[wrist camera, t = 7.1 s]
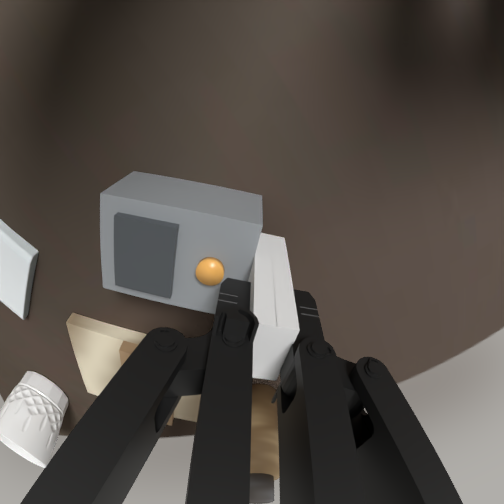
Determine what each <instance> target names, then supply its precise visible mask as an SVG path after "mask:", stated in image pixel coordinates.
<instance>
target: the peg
mask: <svg viewBox="0 0 504 504" xmlns="http://www.w3.org/2000/svg"><path fill="white" fill-rule="evenodd" d="M275 392H276V390H275V389H274V388H273V387H271V386H269V385H266V384H252V419H251V462H250V503H253V504H262V503H270V502H273V501H274V480H277V479H278V478H279V442H278V413H277V399H276V401H275V403H271V401H272V398H273V396H274V394H275Z"/></svg>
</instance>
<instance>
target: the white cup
mask: <svg viewBox="0 0 504 504" xmlns="http://www.w3.org/2000/svg"><path fill="white" fill-rule="evenodd" d="M68 404H69V402H68V398H67V396H66V395H65V393H64V392H63V391H62V390H61V389H60V388H59V387H58V386H57V385H56V384H55V383H53V382H52V381H50V380H49V379H47V378H46V377H44V376H43V375H41V374H39V373H36V372H33V371H27V372H26V373H25V374H24V376H23V377H22V379H21V380H20V382H19V383H18V385H17V386H15V388H14V389H13V391H12V392H11V394H10V395H9V397H8V398H7V400H6V401H5V403H4V405H3V407H2V408H1V410H0V441H1V442H3V443H4V444H5V445H6V446H8V447H9V448H10V449H12V450H13V451H14V452H16V453H17V454H19V455H20V456H22V457H23V458H25V459H27V460H29V461H30V462H32V463H34V464H36V465H38V466H40V467H43V468H46V466H47V465H48V463H49V462H50V459H51V456H52V453H53V450H54V447H55V444H56V441H57V438H58V435H59V431H60V428H61V425H62V422H63V417H64V415H65V412H66V410H67V407H68Z"/></svg>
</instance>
